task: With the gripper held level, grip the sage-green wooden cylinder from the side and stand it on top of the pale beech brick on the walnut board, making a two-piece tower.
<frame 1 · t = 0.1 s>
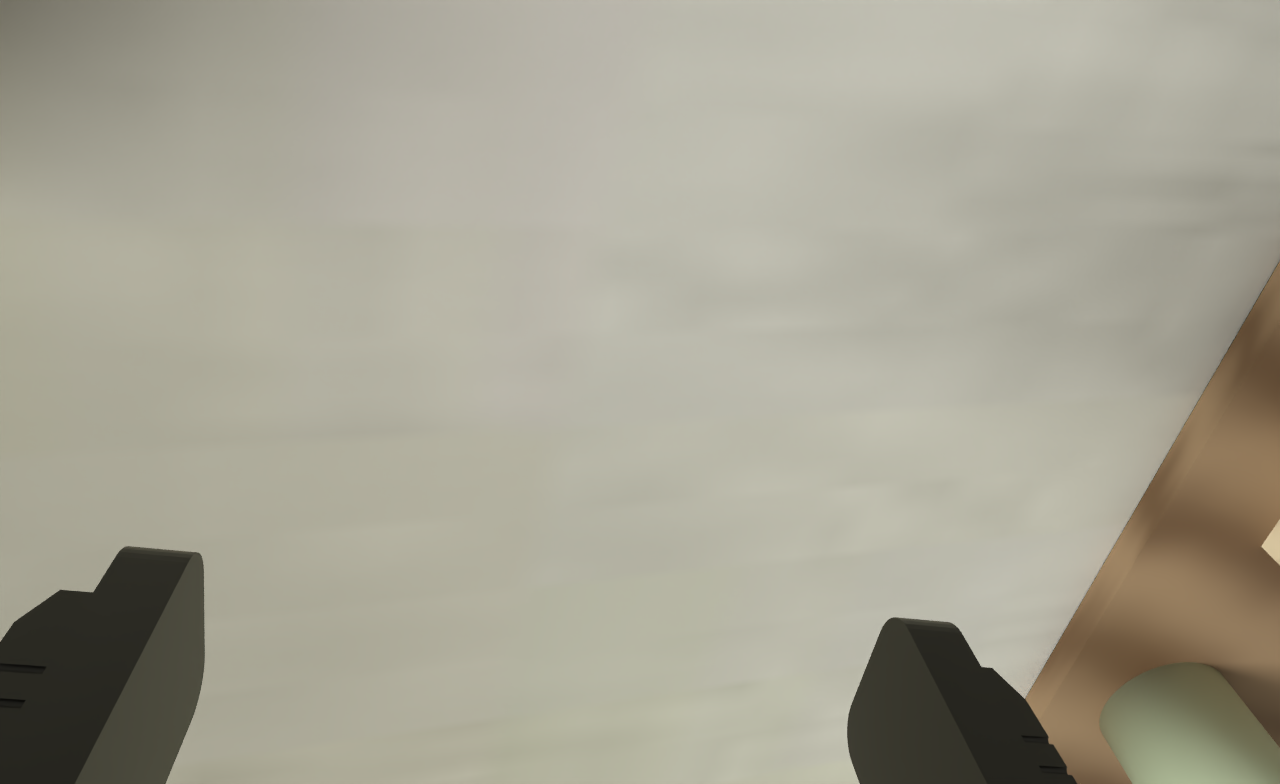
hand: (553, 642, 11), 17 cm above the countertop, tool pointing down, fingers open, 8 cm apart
sage cylinder: (1162, 707, 39), point 1 cm above the countertop, touching walnut board
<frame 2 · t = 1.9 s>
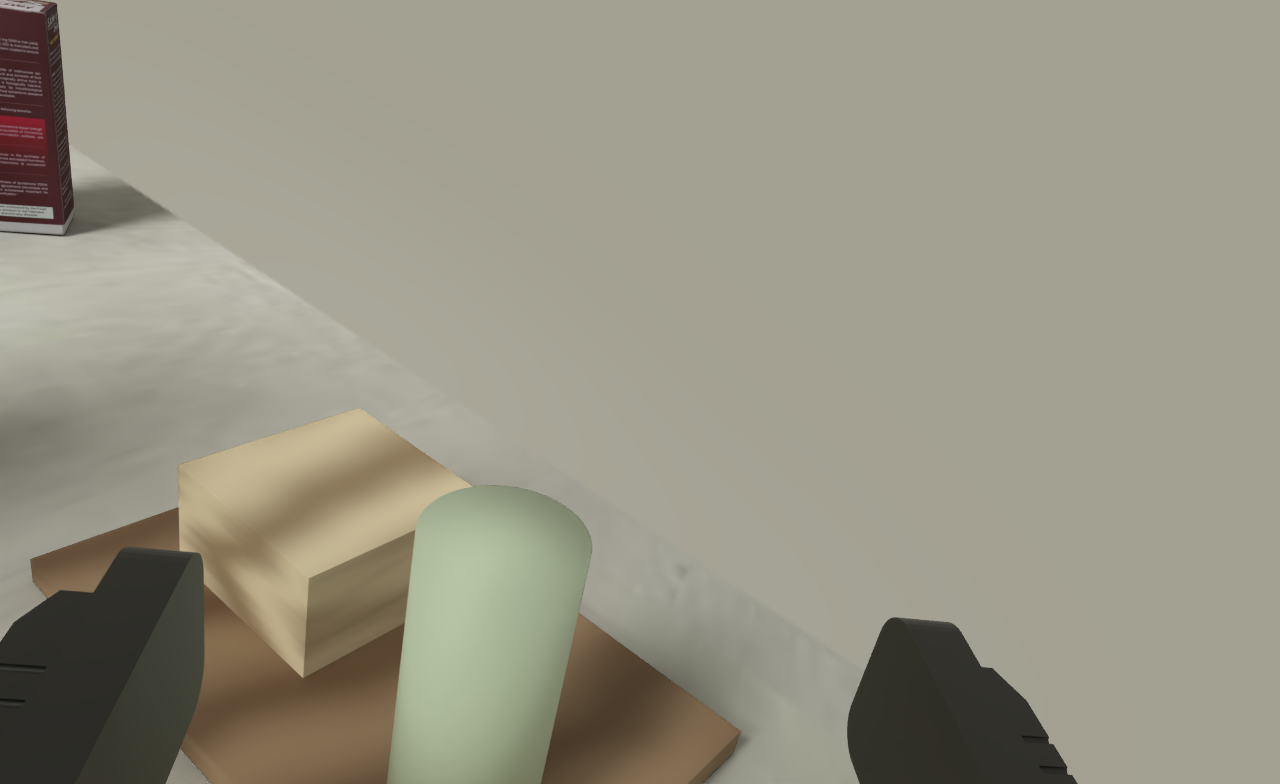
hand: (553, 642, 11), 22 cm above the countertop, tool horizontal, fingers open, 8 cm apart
supplement box: (4, 223, 71), on the countertop
walnut board: (381, 666, 40), on the countertop
beech brick: (330, 573, 43), point 1 cm above the countertop, touching walnut board
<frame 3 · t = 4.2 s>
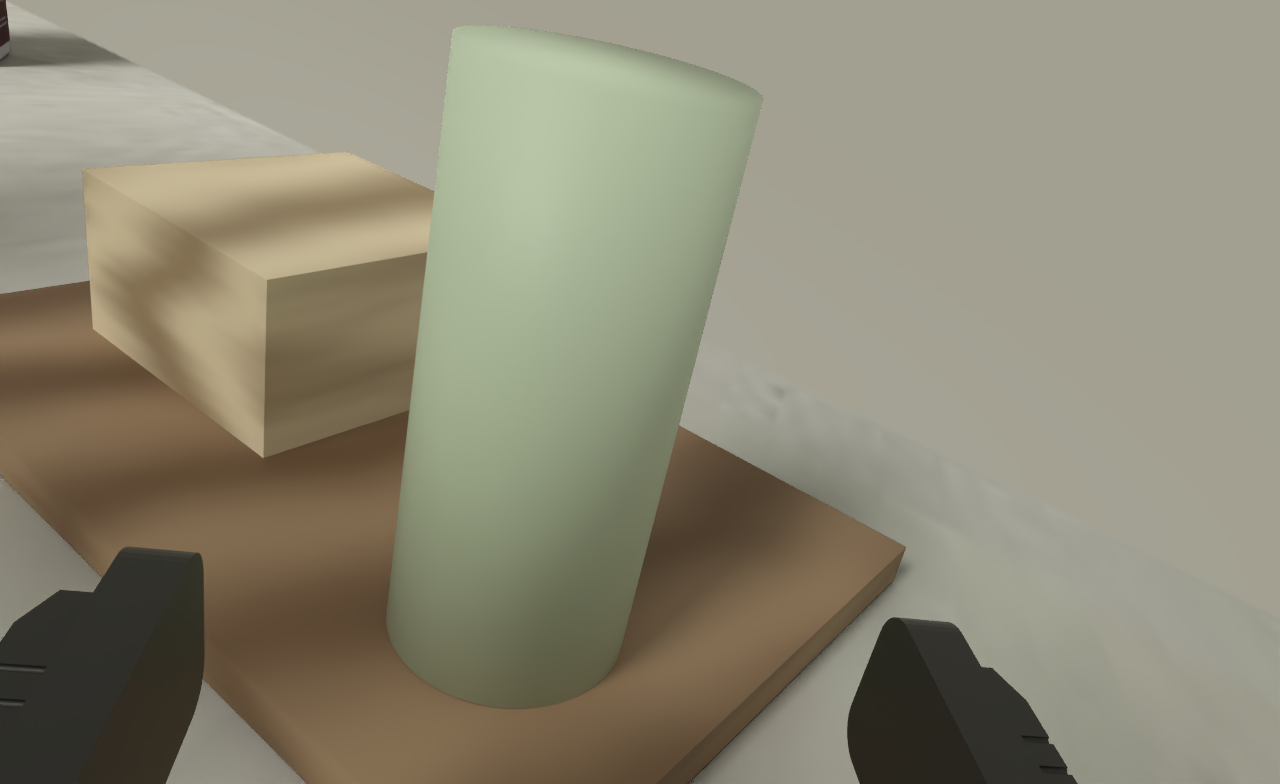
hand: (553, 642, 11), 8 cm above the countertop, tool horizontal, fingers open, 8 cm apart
walnut board: (381, 464, 28), on the countertop
sage cylinder: (507, 619, 21), point 1 cm above the countertop, touching walnut board
beech brick: (308, 354, 30), point 1 cm above the countertop, touching walnut board
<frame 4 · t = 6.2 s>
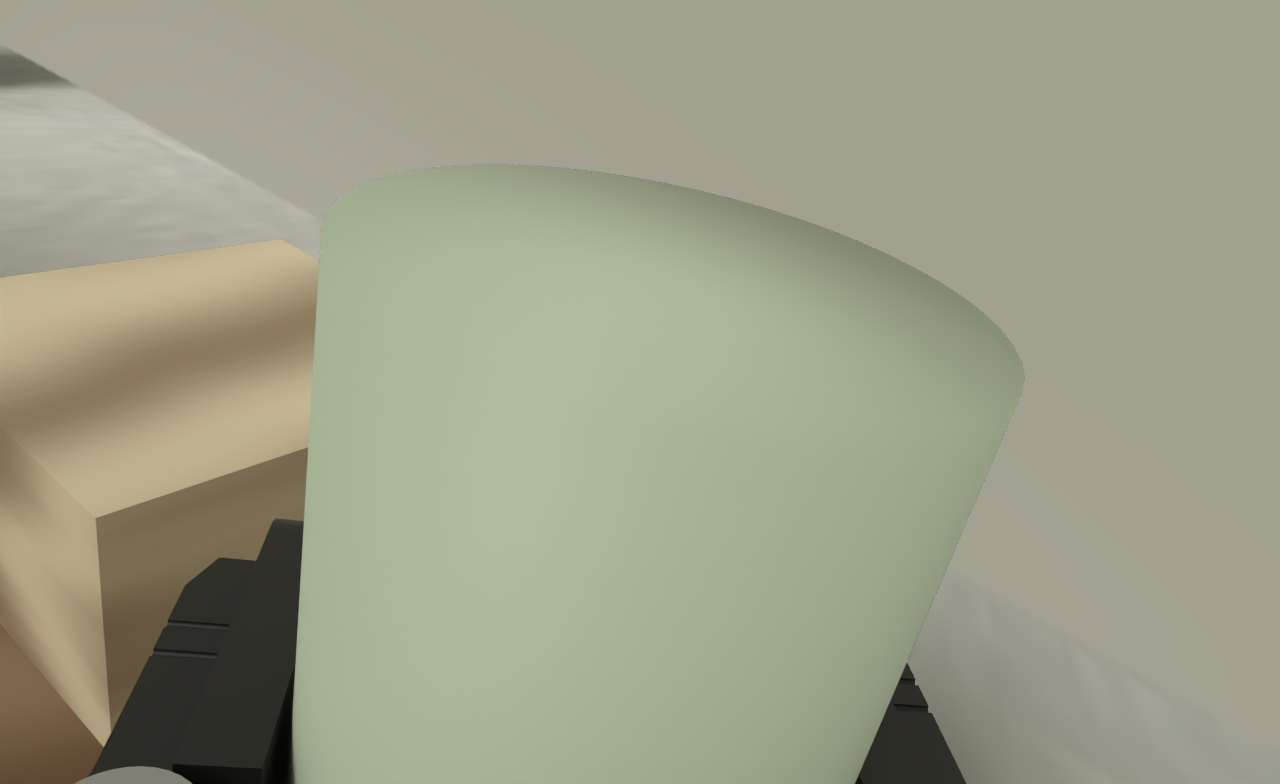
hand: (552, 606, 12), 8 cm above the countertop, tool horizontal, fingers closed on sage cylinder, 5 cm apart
walnut board: (306, 721, 19), on the countertop
beech brick: (215, 535, 22), point 1 cm above the countertop, touching walnut board
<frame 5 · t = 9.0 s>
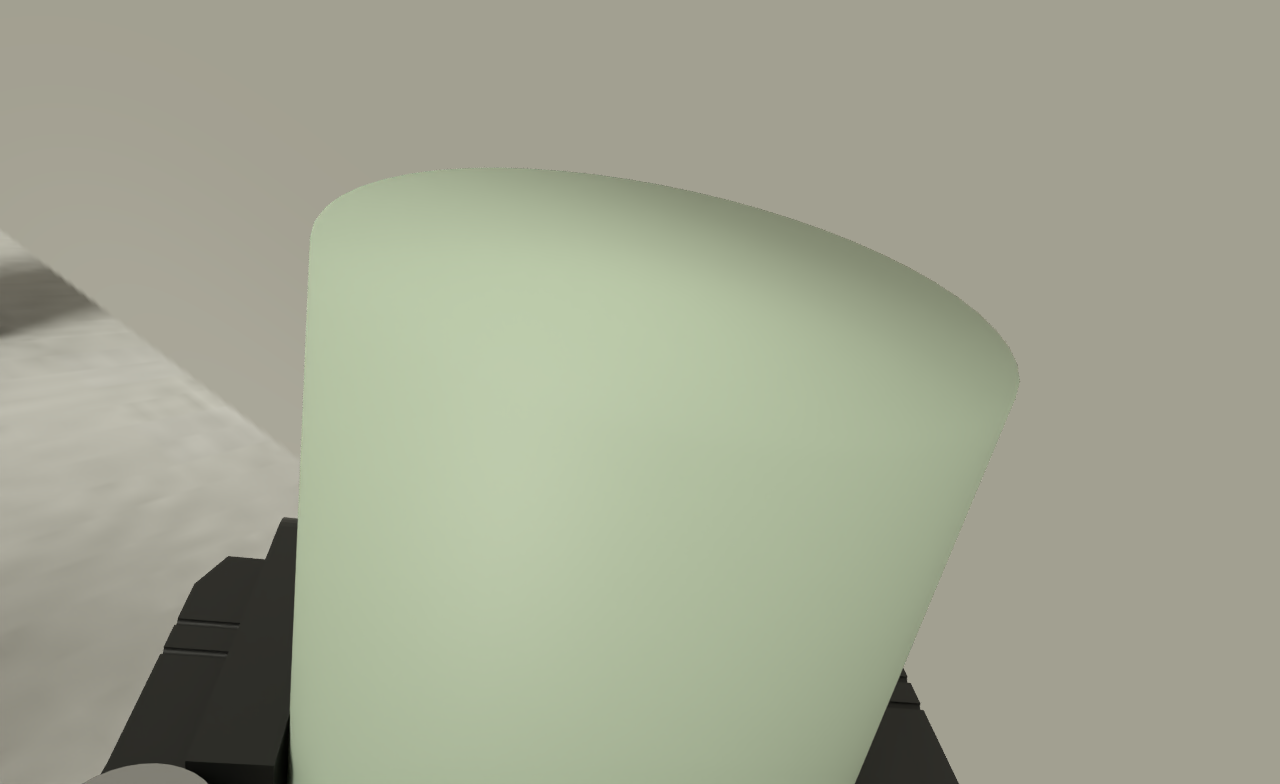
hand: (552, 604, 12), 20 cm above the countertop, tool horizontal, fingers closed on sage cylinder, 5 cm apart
when the fingers open (14 cm above the countertop, at t = 11.4 s): sage cylinder drops 1 cm, resting on beech brick.
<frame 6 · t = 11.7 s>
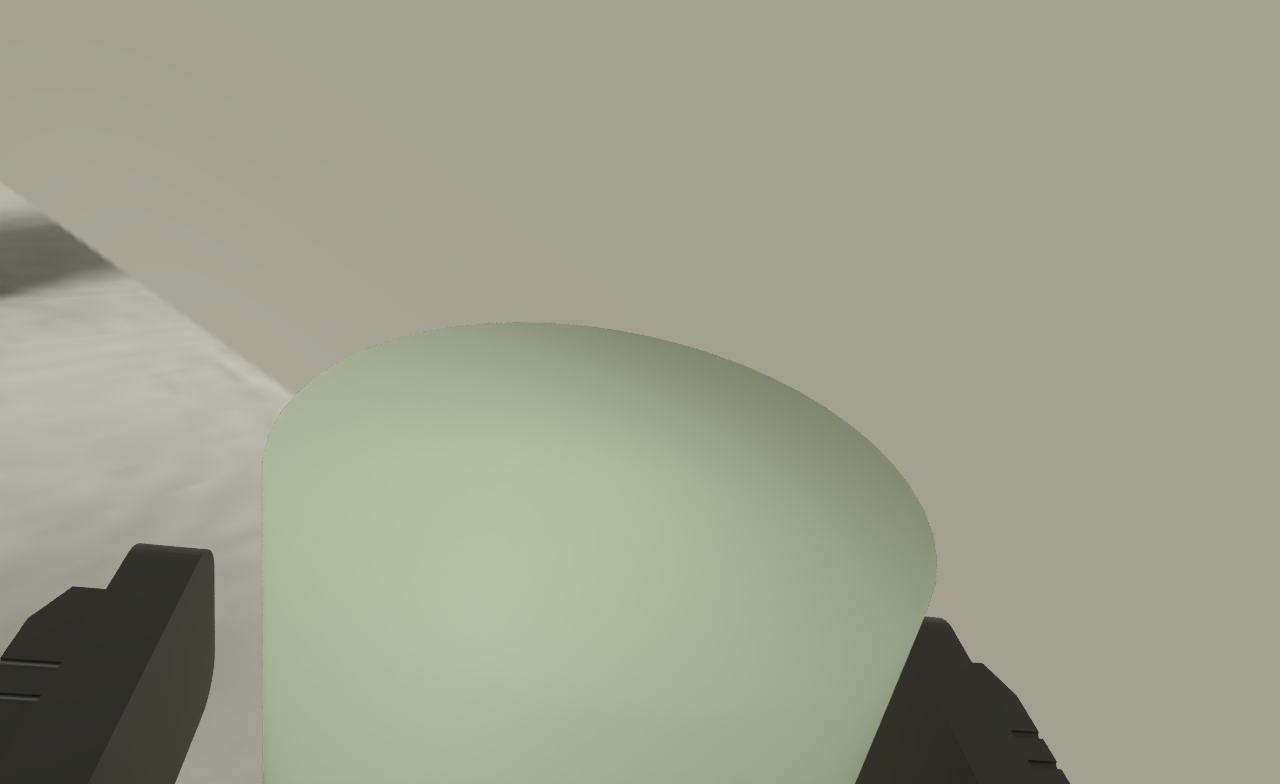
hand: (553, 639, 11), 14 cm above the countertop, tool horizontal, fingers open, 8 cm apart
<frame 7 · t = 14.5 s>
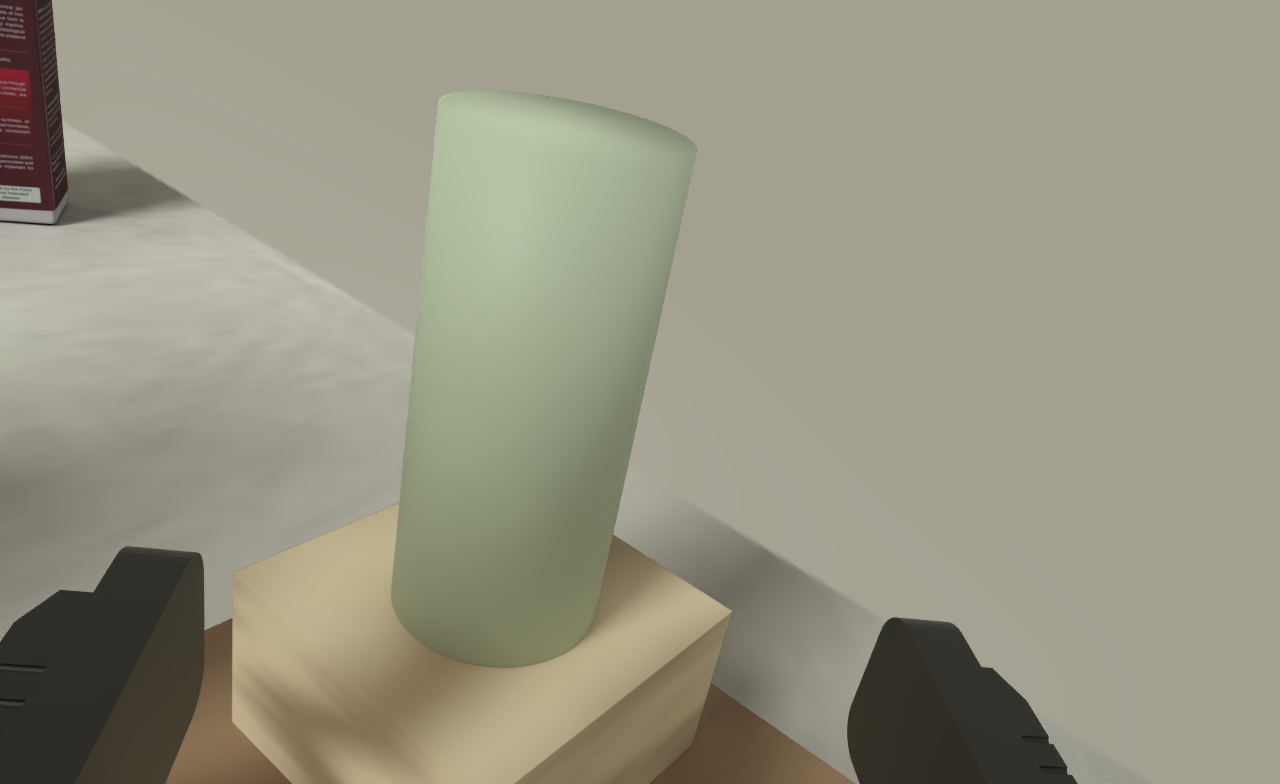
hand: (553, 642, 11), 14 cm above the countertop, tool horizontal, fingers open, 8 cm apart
sage cylinder: (495, 594, 24), point 6 cm above the countertop, touching beech brick
beech brick: (472, 733, 26), point 1 cm above the countertop, touching sage cylinder, walnut board
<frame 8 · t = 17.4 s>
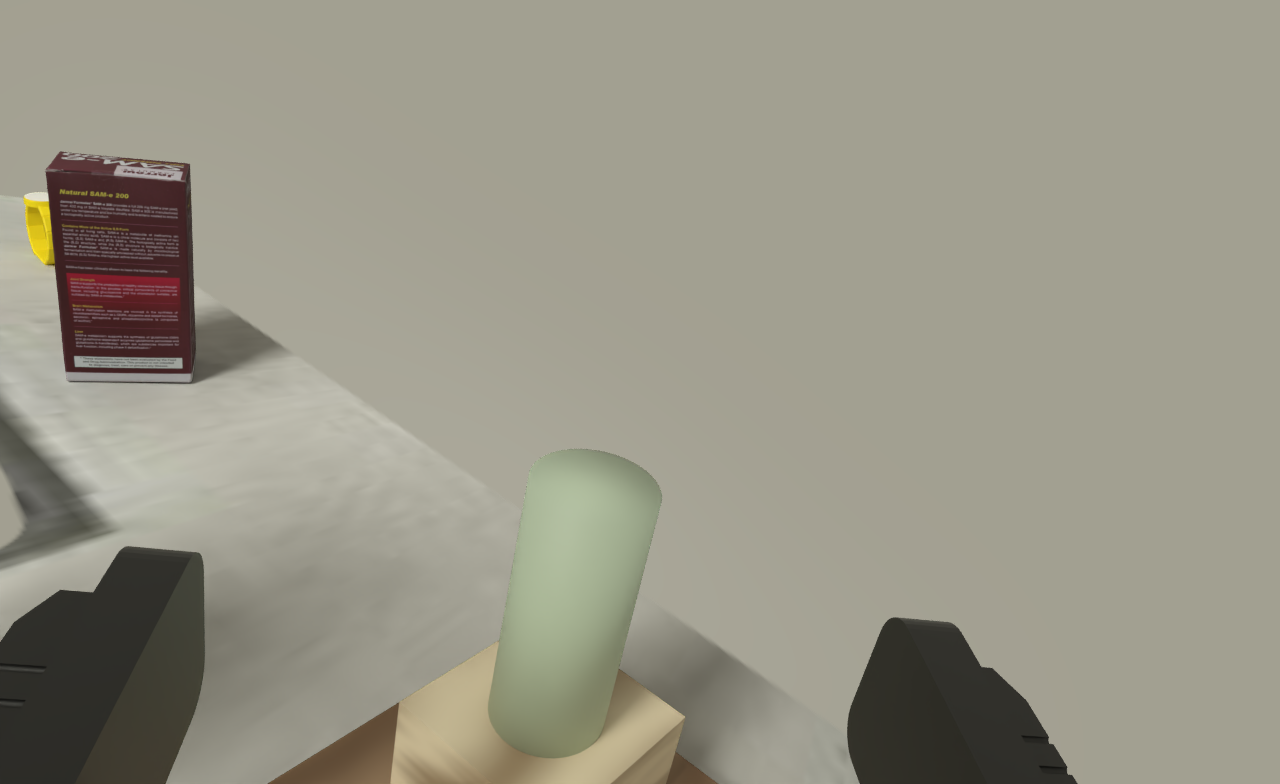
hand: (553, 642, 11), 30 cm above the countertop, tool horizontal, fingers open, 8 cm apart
supplement box: (132, 371, 72), on the countertop
watch: (47, 260, 87), on the countertop
sage cylinder: (547, 710, 42), point 6 cm above the countertop, touching beech brick
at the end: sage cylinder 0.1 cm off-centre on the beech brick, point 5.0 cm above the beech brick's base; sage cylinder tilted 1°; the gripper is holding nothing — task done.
